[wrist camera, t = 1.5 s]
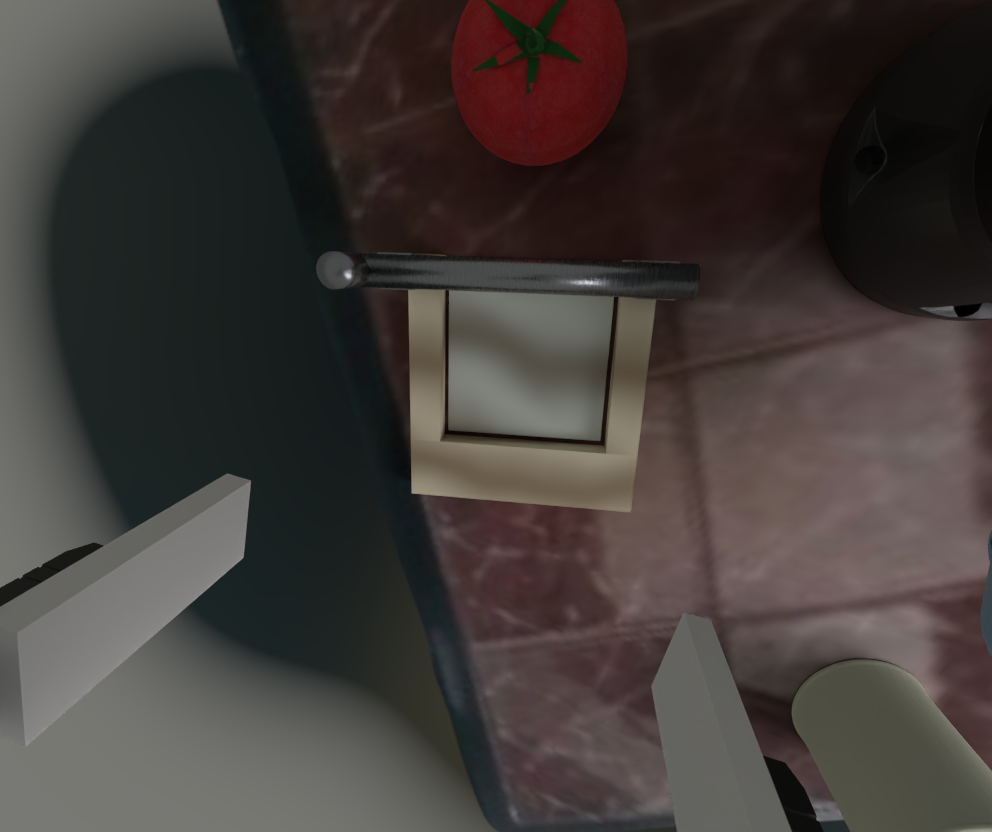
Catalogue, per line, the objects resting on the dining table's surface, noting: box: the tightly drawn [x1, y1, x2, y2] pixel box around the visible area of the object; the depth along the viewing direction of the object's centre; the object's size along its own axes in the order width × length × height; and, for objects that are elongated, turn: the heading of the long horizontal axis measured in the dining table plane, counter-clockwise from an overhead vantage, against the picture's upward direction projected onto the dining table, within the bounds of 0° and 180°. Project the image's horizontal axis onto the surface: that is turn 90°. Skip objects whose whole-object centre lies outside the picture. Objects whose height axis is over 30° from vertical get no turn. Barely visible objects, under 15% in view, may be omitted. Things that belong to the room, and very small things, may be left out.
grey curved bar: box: [316, 251, 700, 301], centre depth 26 cm, size 2×17×9 cm, turn 89°
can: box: [792, 659, 992, 832], centre depth 32 cm, size 9×9×12 cm
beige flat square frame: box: [408, 254, 656, 512], centre depth 33 cm, size 16×15×2 cm
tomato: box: [451, 0, 628, 166], centre depth 25 cm, size 9×9×8 cm
